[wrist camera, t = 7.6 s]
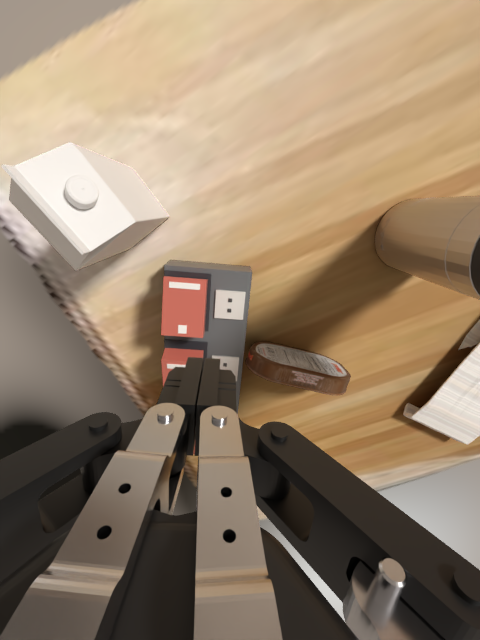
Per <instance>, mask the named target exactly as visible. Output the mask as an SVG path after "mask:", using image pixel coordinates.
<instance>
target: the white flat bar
mask: <svg viewBox="0 0 480 640" xmlns="http://www.w3.org/2000/svg"><path fill="white" fill-rule="evenodd" d="M478 343H479V344H478ZM476 344H478V345H477V346H476V347H475V348H474V349H473V350H472V351H471V352H470V353H469V355H468V356H467V357H466V358H465V359H464V360H463V361H462V362H461V363H460V365H459V366H458V367H457V368H456V369H455V370H454V372H453V373H452V374H451V375H450V376H449V377H448V379H447V380H446V381H445V382H444V383H443V384H442V386H441V387H440V388H439V389H438V390H437V392H436V393H435V394H434V395H433V396H432V397H431V399H430V400H429V401H428V402H427V403H426V404H425V405H424V406H422V407H421V408H418V407H416V406H414V405H412V404H410V403H407V404H406V406H405V409H404V413H403V415H404V416H405V417H407V418H410V419H412V420H414V421H416V422H419V423H420V424H422V425H424V426H426V427H429V428H431V429H433V430H435V431H437V432H439V433H442V434H444V435H446V436H448V437H450V438H452V439H454V440H456V441H459V442H462V443H465V444H469V443H470V442H472V441H473V440H474V439H476V438H477V437H478V436H480V320H479V321H478V322H477V323H476V324H475V325H474V327H473V328H472V329H471V330H470V331H469V333H468V334H467V335H466V337H465V339H464V340H463V342H462V344H461V345H460V347H459V349H458V350H460V349H463V348H467V347H472V346H474V345H476Z"/></svg>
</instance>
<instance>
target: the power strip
mask: <svg viewBox="0 0 480 640" xmlns="http://www.w3.org/2000/svg"><path fill="white" fill-rule="evenodd" d="M164 276H171V277H184V278H197V279H208V284H207V300H206V316H205V332H204V337H203V338H195V337H180V336H166V335H164V348H176V349H191V350H204V353H203V358H204V361H205V358H214V359H220V369H221V370H231V371H232V372H233V374H234V375H235V376H236V406H237V415H238V405H239V395H240V385H241V376H242V366H243V356H244V347H245V337H246V327H247V318H248V308H249V298H250V288H251V279H252V270H251V267H250V266H239V265H227V264H214V263H202V262H190V261H178V260H170V261H169V262H167V263H166V264H165V265H164Z"/></svg>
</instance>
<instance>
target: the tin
mask: <svg viewBox="0 0 480 640" xmlns="http://www.w3.org/2000/svg"><path fill="white" fill-rule="evenodd" d="M246 365H247V367H248V368H249V369H250V370H251V371H252V372H253V373H255V374H256V375H258V376H260V377H262V378H264V379H266V380H269V381H272V382H275V383H279V384H284V385H288V386H293V387H297V388H302V389H306V390H311V391H315V392H319V393H323V394H328V395H342V394H344V393H345V392H346V388H347V385H348V383H349V380H350V377H351V376H350V374H349V372H348V371H347V370H346V369H345V368H344V367H343V366H342V365H341V364H340V363H338V362H337V361H335V360H333V359H331V358H328V357H326V356H323V355H320V354H316V353H312V352H308V351H304V350H300V349H296V348H292V347H288V346H284V345H279V344H275V343H270V342H257V343H254V344H253V345H252V346H251V348H250V350H249V354H248V357H247V358H246Z"/></svg>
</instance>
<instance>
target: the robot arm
mask: <svg viewBox="0 0 480 640" xmlns="http://www.w3.org/2000/svg"><path fill="white" fill-rule="evenodd" d="M375 248H376V251H377V254H378V256H379V257H380V259H381V260H382V261H383V262H384V263H385V264H387V265H388V266H390V267H392V268H395V269H398V270H400V271H403V272H405V273H408V274H411V275H413V276H416V277H419V278H422V279H424V280H427V281H430V282H432V283H435V284H438V285H440V286H443V287H446V288H449V289H451V290H454V291H457V292H459V293H462V294H465V295H467V296H471V297H473V298H476V299H479V300H480V196H462V197H441V198H418V199H409V200H405V201H402V202H400V203H398V204H397V205H395V206H393V207H392V208H391V209H390V210H389V211H388V212H387V213H386V214H385V215H384V216H383V218H382V219H381V221H380V223H379V225H378V227H377V230H376V235H375ZM194 445H195V456H198V474H197V502H196V512H193V513H188V514H184V515H179V516H174V515H172V513H173V510H174V506H175V503H176V499H177V495H178V491H179V488H180V484H181V480H182V476H183V471H184V465H185V462H186V456H187V455H193V452H194ZM79 468H81V474H80V475H78V476H77V477H75V478H74V479H72V480H71V481H69V482H67V483H66V484H64V485H63V486H61V487H60V488H58V489H57V490H55V491H53V492H52V493H50V494H48V495H47V496H45V497H44V498H42V499H41V500H39V498H40V496H41V495H42V493H43V492H44V491H45V490H46V489H47V488H49V487H50V486H52V485H53V484H55V483H57V482H58V481H60V480H61V479H63V478H65V477H66V476H68V475H70V474H71V473H73V472H74V471H76V470H78V469H79ZM38 500H39V501H38ZM256 505H257V506H258V507H259V508H260V510H261V511H262V512H263V513H264V514H265V515H266V516H267V518H268V519H269V520H270V521H271V522H272V523H273V524H274V525H275V527H276V528H277V529H278V530H279V531H280V532H281V533H282V534H283V535H284V537H285V538H286V539H287V540H288V541H289V542H290V543H291V545H292V546H293V547H294V548H295V549H296V550H297V551H298V552H299V554H300V555H301V556H302V557H303V558H304V559H305V560H306V561H307V563H308V564H309V565H310V566H311V567H312V568H313V569H314V571H315V572H316V573H317V574H318V575H319V576H320V577H321V579H322V580H323V581H324V582H325V583H326V584H327V585H328V586H329V588H330V589H331V590H332V591H333V592H334V593H335V594H336V595H337V597H338V598H339V599H340V600H341V601H342V602H343V614H344V618H345V622H346V623H345V622H344V621H343V619H342V618H341V617H340V616H339V614H338V613H337V612H336V611H335V609H334V608H333V607H332V606H331V605H330V603H329V602H328V601H327V600H326V598H325V597H324V596H323V595H322V593H321V592H320V591H319V590H318V588H317V587H316V586H315V585H314V583H313V582H312V581H311V580H310V578H308V576H307V575H306V574H305V572H304V571H303V570H302V569H301V567H300V566H299V565H298V564H297V562H296V561H295V560H294V559H293V558H292V556H291V555H290V554H289V553H288V551H287V550H286V549H285V548H284V547H283V545H282V544H281V543H280V542H279V541H278V540H277V539H276V538H275V537H274V536H272V535H271V534H270V533H269V532H267V531H266V530H264V529H262V528H261V527H260V525H259V518H258V512H257V506H256ZM0 640H480V570H479V569H477V568H476V567H475V566H474V565H472V564H471V563H470V562H468V561H467V560H466V559H464V558H463V557H462V556H460V555H459V554H458V553H456V552H455V551H454V550H452V549H451V548H450V547H449V546H447V545H446V544H445V543H443V542H442V541H441V540H439V539H438V538H437V537H435V536H434V535H433V534H432V533H430V532H429V531H428V530H426V529H425V528H424V527H422V526H421V525H419V524H418V523H417V522H416V521H414V520H413V519H412V518H410V517H409V516H408V515H407V514H405V513H404V512H403V511H401V510H400V509H399V508H397V507H396V506H395V505H393V504H392V503H391V502H389V501H388V500H387V499H386V498H384V497H383V496H382V495H380V494H379V493H378V492H376V491H375V490H374V489H372V488H371V487H370V486H368V485H367V484H366V483H365V482H363V481H362V480H361V479H359V478H358V477H357V476H355V475H354V474H353V473H351V472H350V471H349V470H347V469H346V468H345V467H343V466H342V465H341V464H340V463H338V462H337V461H336V460H334V459H333V458H332V457H330V456H329V455H328V454H326V453H325V452H324V451H322V450H321V449H320V448H319V447H317V446H316V445H315V444H313V443H312V442H311V441H309V440H308V439H307V438H305V437H304V436H303V435H301V434H300V433H299V432H298V431H296V430H295V429H294V428H292V427H291V426H289V425H287V424H285V423H281V422H268V423H266V424H264V425H263V426H262V427H261V428H260V429H257V428H254V427H251V426H249V425H247V424H245V423H243V422H242V421H241V420H240V419H239V417H238V415H237V406H236V376H235V375H234V374H233V372H232V371H231V370H221V369H220V359H214V358H205V361H204V358H197V357H188V359H187V362H186V366H185V367H175V368H173V369H172V370H171V371H170V372H169V373H168V376H167V378H166V381H165V383H164V386H163V389H162V391H161V394H160V397H159V399H158V402H157V405H155V406H153V407H151V408H150V409H149V410H148V411H147V412H146V414H145V416H144V418H143V419H140V420H137V421H132V422H127V423H121V420H120V418H119V417H118V416H117V415H116V414H113V413H108V412H102V413H96V414H93V415H90V416H88V417H86V418H84V419H82V420H80V421H78V422H75V423H74V424H71V425H69V426H67V427H65V428H64V429H61V430H59V431H57V432H55V433H53V434H51V435H49V436H47V437H45V438H43V439H41V440H39V441H37V442H35V443H33V444H31V445H29V446H27V447H25V448H23V449H21V450H19V451H17V452H15V453H13V454H11V455H9V456H7V457H5V458H2V459H0Z"/></svg>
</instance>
